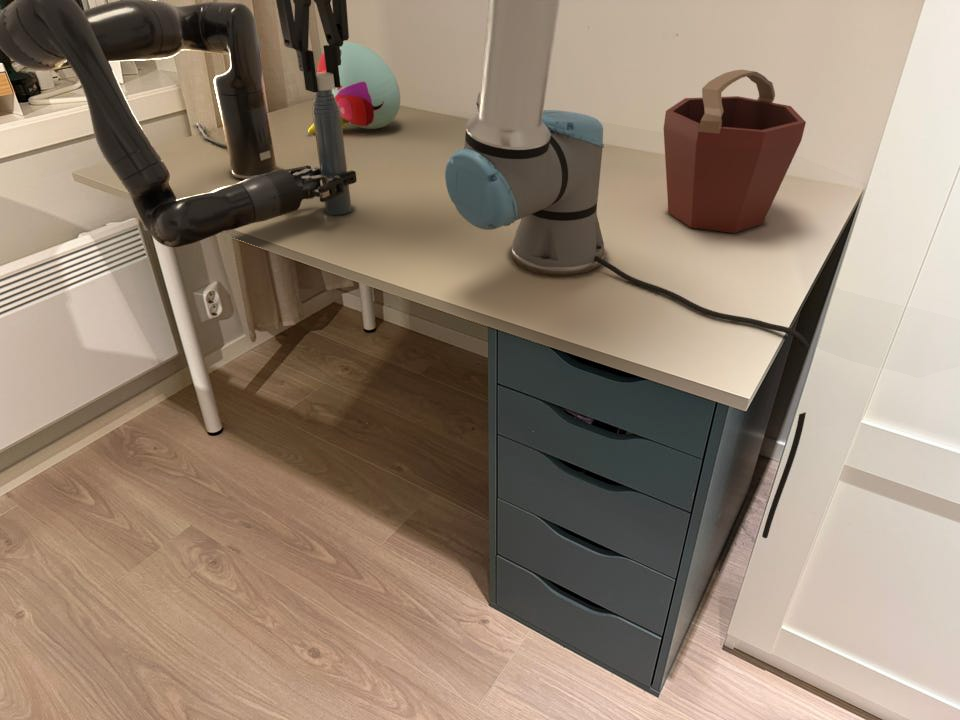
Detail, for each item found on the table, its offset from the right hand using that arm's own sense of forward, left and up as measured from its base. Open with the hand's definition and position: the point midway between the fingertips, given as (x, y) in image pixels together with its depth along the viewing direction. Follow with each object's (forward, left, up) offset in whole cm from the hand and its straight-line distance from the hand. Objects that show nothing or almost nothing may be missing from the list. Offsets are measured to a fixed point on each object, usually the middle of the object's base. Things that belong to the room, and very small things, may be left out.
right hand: (323, 88), depth 122 cm
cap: (0, 0, +2) cm, 2 cm away
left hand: (+1, -2, -16) cm, 16 cm away
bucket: (-30, -64, -22) cm, 74 cm away
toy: (+52, -16, -22) cm, 59 cm away
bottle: (0, 0, -22) cm, 22 cm away
